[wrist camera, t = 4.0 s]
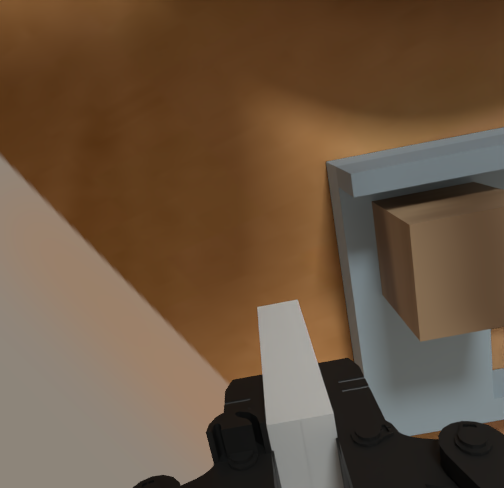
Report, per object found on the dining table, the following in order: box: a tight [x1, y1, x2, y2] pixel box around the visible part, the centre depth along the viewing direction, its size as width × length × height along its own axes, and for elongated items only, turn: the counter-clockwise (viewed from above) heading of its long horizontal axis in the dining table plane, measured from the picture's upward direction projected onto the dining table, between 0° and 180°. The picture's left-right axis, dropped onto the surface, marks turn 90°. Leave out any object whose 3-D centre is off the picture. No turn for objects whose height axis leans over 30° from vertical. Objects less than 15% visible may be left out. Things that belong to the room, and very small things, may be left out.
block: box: [372, 182, 504, 342], centre depth 20 cm, size 5×5×5 cm
